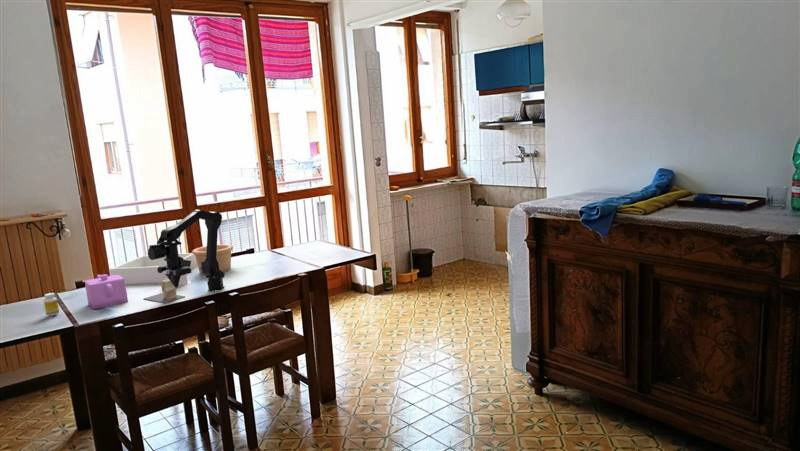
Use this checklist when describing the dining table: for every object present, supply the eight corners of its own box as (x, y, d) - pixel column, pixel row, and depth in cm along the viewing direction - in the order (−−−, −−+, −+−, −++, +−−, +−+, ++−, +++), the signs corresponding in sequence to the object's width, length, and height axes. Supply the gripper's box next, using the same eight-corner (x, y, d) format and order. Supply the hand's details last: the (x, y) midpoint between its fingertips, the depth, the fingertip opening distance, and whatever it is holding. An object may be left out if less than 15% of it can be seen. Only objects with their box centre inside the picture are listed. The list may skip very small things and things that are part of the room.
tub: (198, 267, 346) (196, 252, 344) (171, 282, 312) (169, 266, 311) (144, 270, 349) (142, 255, 348) (112, 285, 316) (109, 269, 314)
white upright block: (166, 286, 305) (163, 264, 303) (179, 282, 312) (176, 261, 310) (177, 287, 300) (174, 265, 298) (190, 283, 307) (187, 262, 305)
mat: (185, 297, 281) (185, 296, 280) (164, 303, 272) (164, 302, 272) (163, 293, 291) (163, 292, 291) (143, 299, 282) (143, 298, 282)
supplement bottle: (44, 314, 268) (40, 294, 266) (57, 311, 272) (53, 291, 270) (48, 316, 264) (44, 296, 262) (61, 313, 268) (57, 293, 266)
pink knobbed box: (118, 294, 296) (114, 267, 294) (130, 303, 276) (126, 275, 274) (85, 301, 287) (81, 274, 285) (95, 311, 267) (90, 282, 265)
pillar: (176, 297, 279) (174, 279, 277) (168, 300, 275) (166, 282, 274) (171, 296, 282) (168, 278, 280) (163, 299, 278) (160, 281, 276)
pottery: (210, 279, 314) (207, 253, 312) (187, 275, 328) (184, 250, 325) (243, 270, 331) (240, 245, 329) (220, 266, 345) (217, 243, 342)
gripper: (198, 253, 272) (203, 285, 275) (175, 250, 283) (179, 281, 285) (178, 258, 263) (182, 291, 266) (154, 255, 274) (159, 287, 276)
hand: (176, 287), depth 274 cm, fingers closed
